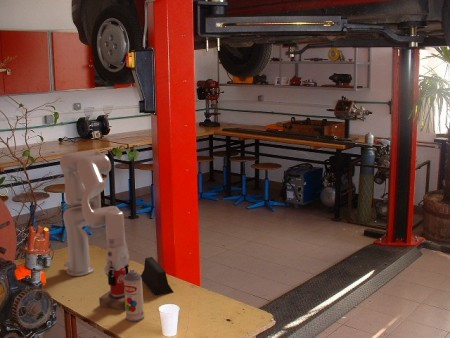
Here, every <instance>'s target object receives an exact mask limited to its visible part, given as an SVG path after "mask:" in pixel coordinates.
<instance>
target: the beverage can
mask: <svg viewBox="0 0 450 338" xmlns="http://www.w3.org/2000/svg"><path fill="white" fill-rule="evenodd" d="M111 269H113V268H111ZM112 272H113V271H111V273H112ZM114 276H115V279H116V285H115V286H111V285H109V291H110V293H111V294H112V295H113V296H115V297H120V296H123V295H124V294H125V291H124V277H125V276H126V269H125V268H124V266H123V267H122V268H120V270H119V271H115V275H114Z"/></svg>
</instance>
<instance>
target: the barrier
mask: <svg viewBox="0 0 450 338" xmlns="http://www.w3.org/2000/svg"><path fill="white" fill-rule="evenodd" d="M140 275H141V278H142V283H144V285H145V287H147V288H148V289H149V291H150V292H151V293H152V295H153V296H154V297H159V296H162V295H170V294H172V293H173V294H174V291H173V289H172V287H171V285H170V284H169V281H168V277H167V272H166V269H164V268H163V267H162V266H161V265H160V263H159V262H157V260H156V259H154V257H152V256H150V257H146V258H145V259H144V267H143V271H142V273H141V274H140Z"/></svg>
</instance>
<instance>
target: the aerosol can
mask: <svg viewBox="0 0 450 338" xmlns="http://www.w3.org/2000/svg"><path fill="white" fill-rule="evenodd" d="M128 272H129V273H128V274H127V275H126V276H125V277H124V291H125V305H126V311H125V315H126V320H127V322H130V323H137V322H141V321H143V320H144V319H145V312H144V311H145V310H144V307H145V306H144V295H143V294H144V293H143V291H144V290H143V281H142V278H141V274H139V272H137V271H135V268H130V269H129V271H128Z"/></svg>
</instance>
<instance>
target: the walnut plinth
mask: <svg viewBox="0 0 450 338" xmlns="http://www.w3.org/2000/svg"><path fill="white" fill-rule="evenodd" d="M98 300H99V301H98V302H99V308H104V309H109V310H115V311H116V310H117V311H122V312H126V305H125V294H124V295H123V296H120V297H115V296H113V295H112V294H111V293H110V290H109V291H107V292H105V293H104V294H103V295H101V296H99V297H98Z"/></svg>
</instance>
